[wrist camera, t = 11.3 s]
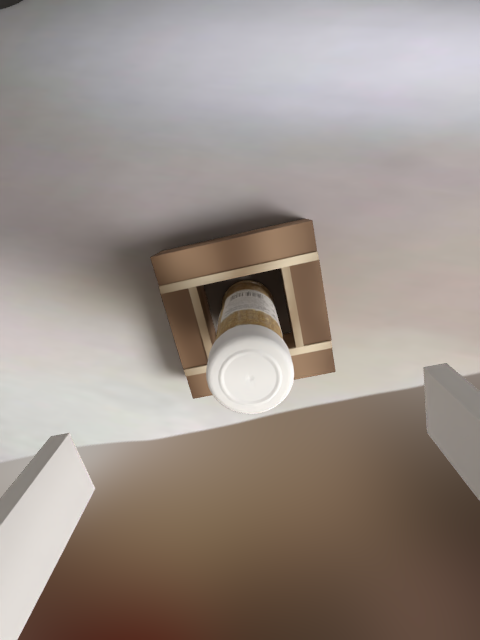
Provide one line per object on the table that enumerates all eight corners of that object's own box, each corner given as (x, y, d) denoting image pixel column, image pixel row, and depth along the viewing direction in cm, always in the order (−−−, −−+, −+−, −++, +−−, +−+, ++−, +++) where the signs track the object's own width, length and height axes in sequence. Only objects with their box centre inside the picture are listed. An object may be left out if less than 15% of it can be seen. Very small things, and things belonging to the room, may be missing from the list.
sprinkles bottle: (217, 322, 31) (196, 407, 18) (228, 272, 29) (214, 327, 17) (267, 333, 31) (281, 425, 18) (280, 285, 30) (306, 348, 17)
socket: (197, 379, 33) (192, 399, 29) (160, 251, 29) (149, 257, 26) (326, 354, 32) (336, 372, 28) (305, 218, 28) (313, 220, 24)
